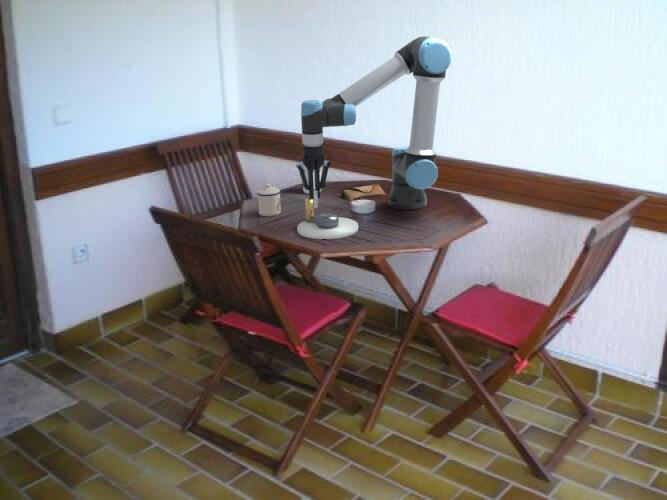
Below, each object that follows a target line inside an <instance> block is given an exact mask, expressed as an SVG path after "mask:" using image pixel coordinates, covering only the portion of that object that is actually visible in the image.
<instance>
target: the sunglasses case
mask: <svg viewBox="0 0 667 500" xmlns="http://www.w3.org/2000/svg"><path fill="white" fill-rule="evenodd" d="M380 195H385V196H388V193H385V191H384V189H383V188H382V187H381V186H380V183H375V184H370V185H363V186H355V187H346V188H343V189H342V190H341V198H343V197H344V199H345V198H346V200H347V199H349V200H348V201H350V200H353V201H357V200H356V199H358V200H361V199H360V198H364V199H367V198H366V197H370V198H375V197H374V196H377V197H381V196H380Z"/></svg>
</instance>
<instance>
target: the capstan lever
mask: <svg viewBox="0 0 667 500" xmlns="http://www.w3.org/2000/svg"><path fill="white" fill-rule="evenodd" d="M304 208H305V209H304V210H305V220H306V221H311V222H315V223H317V226H318V227H321V228H332V227H336V226H338V225H339V214H336V213H328V212H327V213H320V214H317V215H316V214H315V211H314V210H315V208H314V207H313V198H310V197H306V198H305V199H304Z"/></svg>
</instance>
